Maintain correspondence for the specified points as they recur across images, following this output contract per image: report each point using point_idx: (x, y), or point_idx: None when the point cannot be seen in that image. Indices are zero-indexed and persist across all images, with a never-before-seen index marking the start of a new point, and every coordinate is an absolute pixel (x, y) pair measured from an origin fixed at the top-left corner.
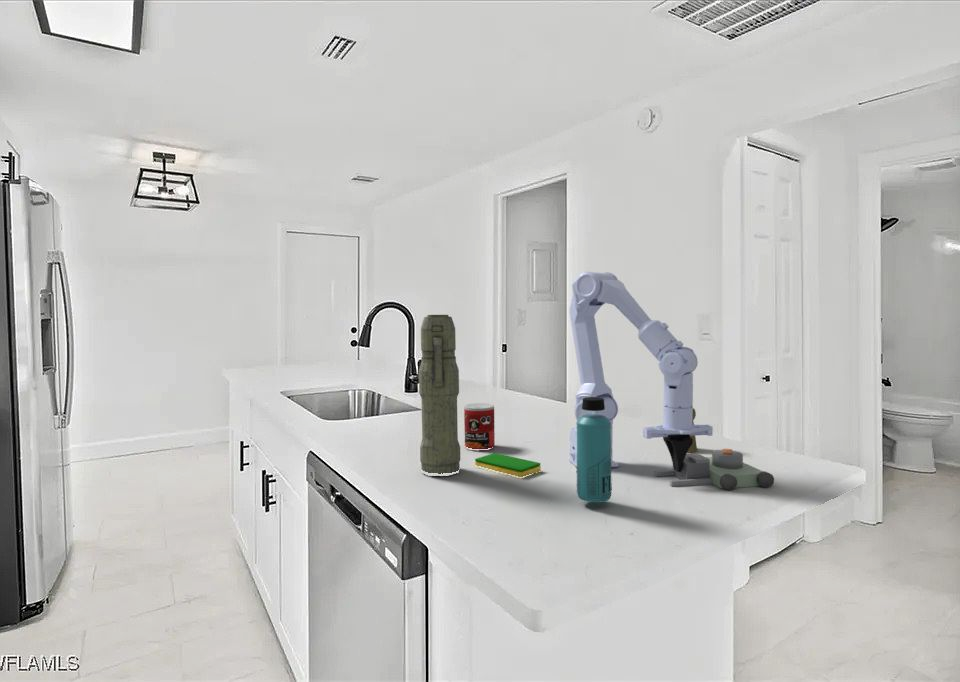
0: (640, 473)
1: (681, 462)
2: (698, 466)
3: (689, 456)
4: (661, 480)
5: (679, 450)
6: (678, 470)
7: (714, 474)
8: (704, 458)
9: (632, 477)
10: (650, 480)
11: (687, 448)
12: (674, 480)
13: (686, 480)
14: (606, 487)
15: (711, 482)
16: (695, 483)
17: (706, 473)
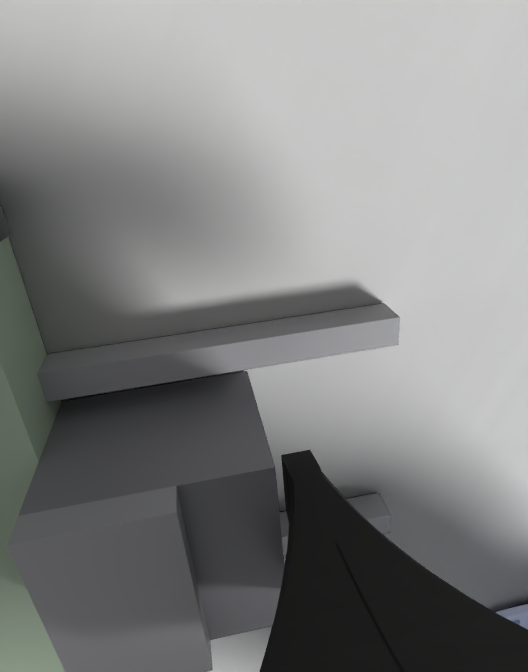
0: (433, 538)
1: (308, 501)
2: (149, 467)
3: (195, 610)
4: (383, 427)
5: (394, 590)
6: (310, 454)
7: (16, 379)
8: (61, 562)
9: (513, 474)
10: (447, 426)
11: (297, 631)
12: (366, 344)
13: (276, 341)
14: None
15: (58, 356)
16: (199, 336)
17: (75, 437)
